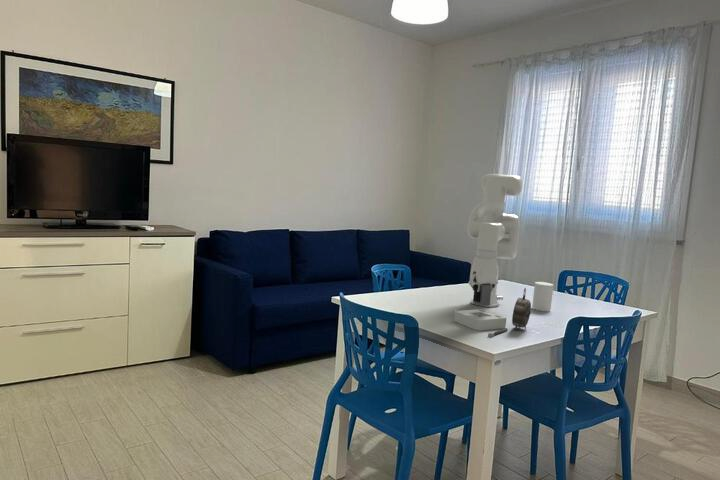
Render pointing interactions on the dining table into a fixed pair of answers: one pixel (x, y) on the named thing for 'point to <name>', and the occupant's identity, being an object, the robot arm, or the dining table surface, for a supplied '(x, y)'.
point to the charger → (484, 295)
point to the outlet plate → (479, 319)
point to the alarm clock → (521, 312)
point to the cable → (496, 332)
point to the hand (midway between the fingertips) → (481, 300)
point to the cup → (542, 296)
